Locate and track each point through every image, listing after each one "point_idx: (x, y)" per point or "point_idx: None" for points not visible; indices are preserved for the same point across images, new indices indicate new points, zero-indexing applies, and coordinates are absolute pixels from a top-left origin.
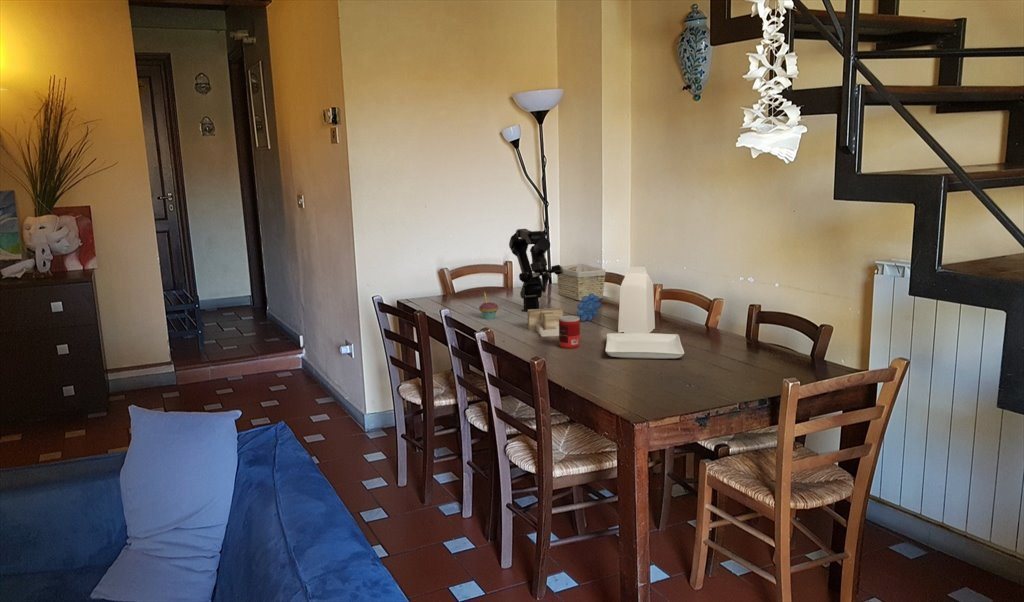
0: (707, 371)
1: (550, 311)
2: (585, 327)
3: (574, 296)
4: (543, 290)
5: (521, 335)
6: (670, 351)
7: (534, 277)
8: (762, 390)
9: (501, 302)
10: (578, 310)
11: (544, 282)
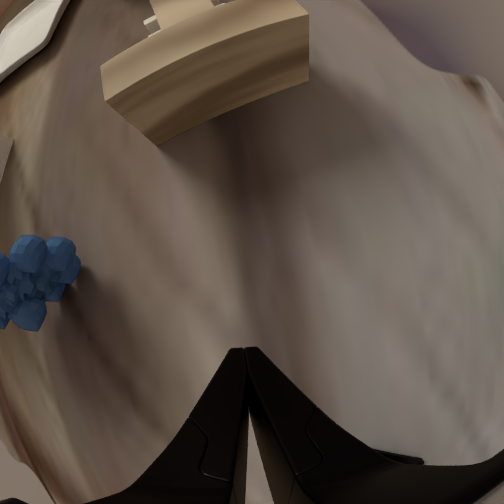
0: (12, 17)
1: (163, 14)
2: (71, 163)
3: None
4: (246, 354)
5: None
6: (4, 49)
7: (492, 468)
8: (8, 7)
9: None
10: (53, 246)
11: (196, 438)
